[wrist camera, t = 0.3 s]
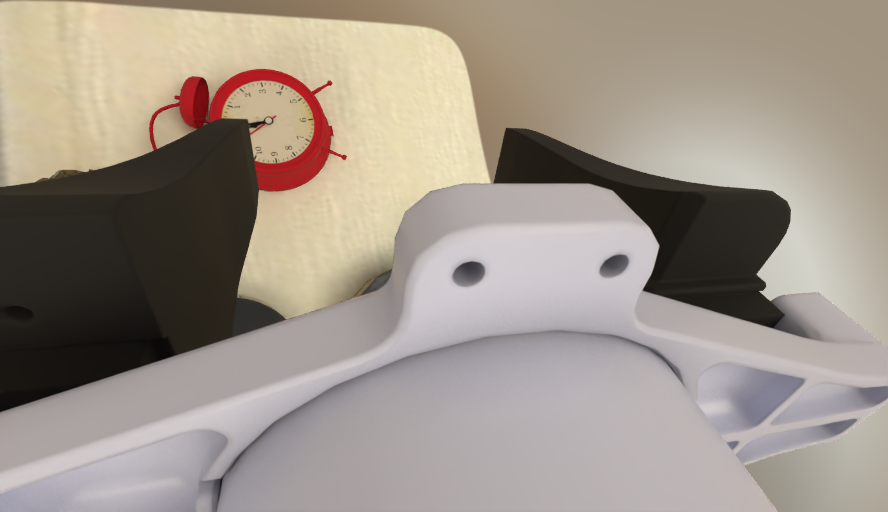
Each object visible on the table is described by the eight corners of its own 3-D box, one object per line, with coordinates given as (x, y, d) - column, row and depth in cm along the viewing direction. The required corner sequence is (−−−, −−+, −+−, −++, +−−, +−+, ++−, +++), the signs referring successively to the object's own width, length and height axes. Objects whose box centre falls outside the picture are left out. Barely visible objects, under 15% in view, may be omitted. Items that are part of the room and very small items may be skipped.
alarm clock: (355, 171, 38) (157, 182, 31) (335, 190, 44) (162, 204, 36) (332, 60, 39) (131, 43, 31) (315, 93, 44) (140, 85, 36)
